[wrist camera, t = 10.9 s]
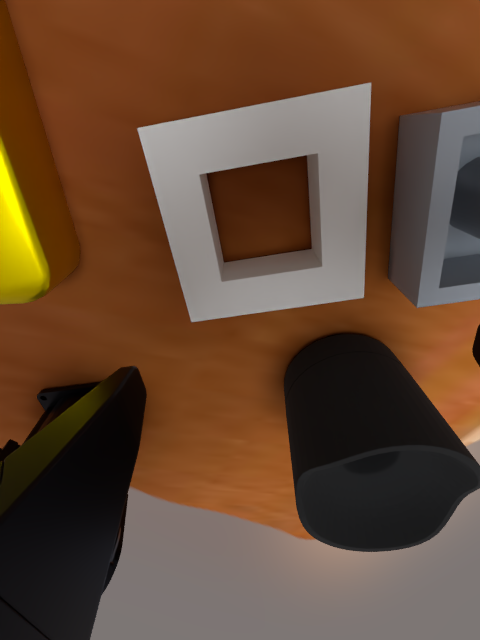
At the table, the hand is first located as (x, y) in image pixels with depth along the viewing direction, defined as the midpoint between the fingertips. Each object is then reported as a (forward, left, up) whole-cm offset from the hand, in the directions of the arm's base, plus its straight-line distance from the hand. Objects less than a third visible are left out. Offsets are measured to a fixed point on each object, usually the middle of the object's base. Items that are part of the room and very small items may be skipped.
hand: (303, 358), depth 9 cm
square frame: (0, +1, -13) cm, 13 cm away
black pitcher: (+4, -12, -13) cm, 18 cm away
